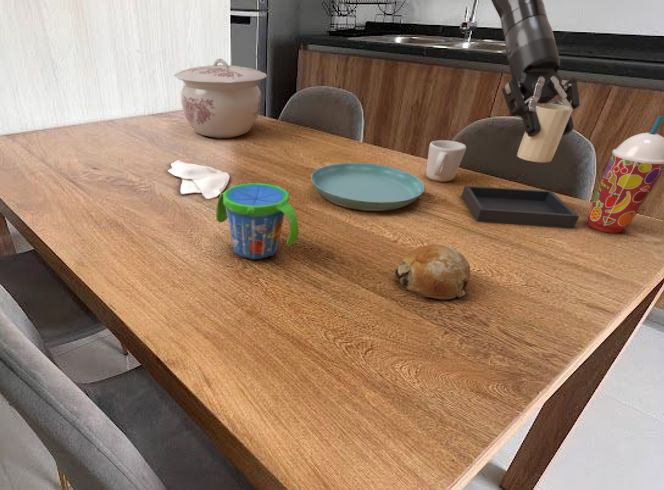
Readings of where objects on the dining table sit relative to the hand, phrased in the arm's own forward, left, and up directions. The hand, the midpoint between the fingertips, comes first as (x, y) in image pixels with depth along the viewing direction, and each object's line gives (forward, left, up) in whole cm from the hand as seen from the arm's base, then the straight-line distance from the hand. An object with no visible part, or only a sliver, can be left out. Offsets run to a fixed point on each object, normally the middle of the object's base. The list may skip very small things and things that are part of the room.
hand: (550, 133), depth 82 cm
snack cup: (+50, +25, -16) cm, 59 cm away
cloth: (+68, -9, -16) cm, 71 cm away
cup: (+12, -19, -16) cm, 28 cm away
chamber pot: (+72, -53, -16) cm, 91 cm away
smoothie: (-15, +3, -16) cm, 22 cm away
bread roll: (+22, +31, -16) cm, 41 cm away
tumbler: (+1, -2, -5) cm, 5 cm away
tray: (0, -2, -16) cm, 16 cm away
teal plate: (+30, -6, -16) cm, 35 cm away
